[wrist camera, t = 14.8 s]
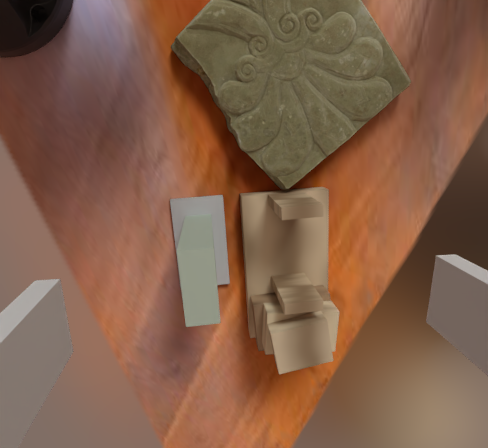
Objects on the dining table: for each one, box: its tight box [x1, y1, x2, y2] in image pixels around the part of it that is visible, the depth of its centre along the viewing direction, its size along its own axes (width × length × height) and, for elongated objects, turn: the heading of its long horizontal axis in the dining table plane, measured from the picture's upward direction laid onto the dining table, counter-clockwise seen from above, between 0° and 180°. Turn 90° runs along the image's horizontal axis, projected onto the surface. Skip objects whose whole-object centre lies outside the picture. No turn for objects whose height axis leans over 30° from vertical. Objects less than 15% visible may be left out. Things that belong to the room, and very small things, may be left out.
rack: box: [240, 187, 329, 338], centre depth 38 cm, size 10×18×9 cm, turn 4°
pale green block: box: [177, 214, 220, 327], centre depth 35 cm, size 3×7×12 cm, turn 4°
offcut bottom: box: [251, 285, 330, 351], centre depth 41 cm, size 9×6×2 cm, turn 97°
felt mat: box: [170, 195, 230, 288], centre depth 41 cm, size 6×11×1 cm, turn 4°
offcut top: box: [268, 311, 333, 374], centre depth 37 cm, size 6×5×2 cm
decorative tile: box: [171, 0, 411, 190], centre depth 36 cm, size 19×20×4 cm
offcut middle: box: [262, 301, 339, 355], centre depth 39 cm, size 8×5×2 cm, turn 89°
